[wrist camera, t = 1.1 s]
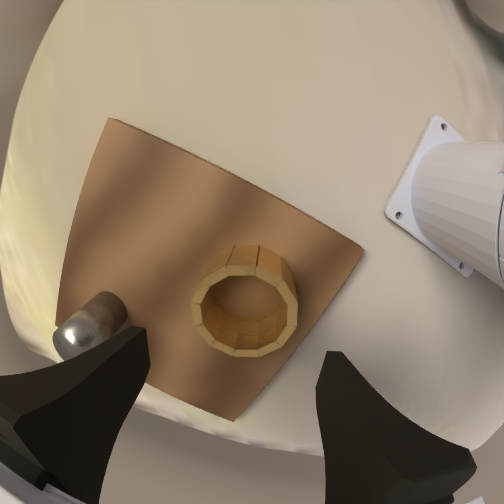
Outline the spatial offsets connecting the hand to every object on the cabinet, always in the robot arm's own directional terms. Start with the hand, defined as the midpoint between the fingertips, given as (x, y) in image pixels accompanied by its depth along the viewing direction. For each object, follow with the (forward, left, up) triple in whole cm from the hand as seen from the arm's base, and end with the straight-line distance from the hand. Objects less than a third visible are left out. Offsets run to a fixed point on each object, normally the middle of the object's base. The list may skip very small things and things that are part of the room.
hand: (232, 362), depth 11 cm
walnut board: (+4, +4, -8) cm, 10 cm away
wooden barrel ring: (0, 0, -7) cm, 7 cm away
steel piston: (+8, +7, -8) cm, 14 cm away
